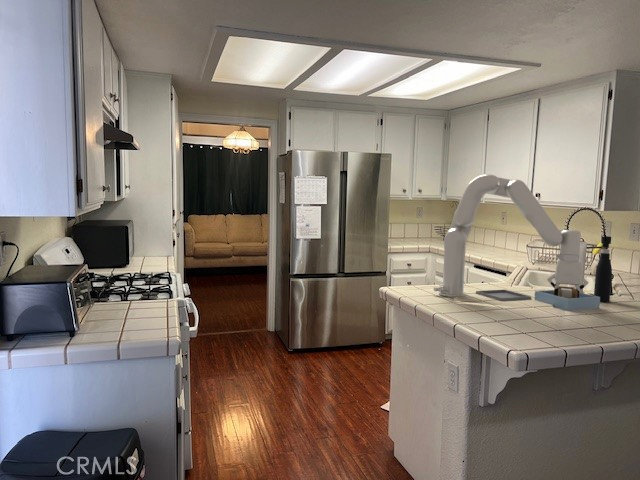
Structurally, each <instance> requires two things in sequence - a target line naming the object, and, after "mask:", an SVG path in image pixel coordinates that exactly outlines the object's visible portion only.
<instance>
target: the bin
mask: <svg viewBox="0 0 640 480" xmlns="http://www.w3.org/2000/svg"><path fill="white" fill-rule="evenodd" d="M534 301H538V302H541V303H545V304H549V305H552V308H555V309H560V310H563V311H567V312H569V311H570V312H571V311H584V310H585V311H587V310H594V309H595V310H596V309H600V305H601V302H600V297H598V296H594V294H593V295H592V294H588V293H584V292H581V291H579V298H571V299H568V298H564V297H559V296H555V295H554V289H546V290H545V289H544V290H543V289H542V290H535V291H534Z"/></svg>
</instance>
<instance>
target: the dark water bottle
mask: <svg viewBox="0 0 640 480" xmlns="http://www.w3.org/2000/svg"><path fill="white" fill-rule="evenodd" d="M603 236H605V235H603ZM603 236H601V240H600V243H601V244H602V246H601V247H602V249H601V250H600V256H599V260H598V261H597V265H596V268H595V277H594V289H593V290H594V291H593V296H598V297H600V303H610V301H611V300H610V299H611V298H610V297H611V288H612V275H613V274H612V273H613V268H612V263H611V260H610V257H611V254H610V251H611V250H610V249H609V248H610V244H612V236H608V235H607V236H605V237H606V242H605V237H603Z"/></svg>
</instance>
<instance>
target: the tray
mask: <svg viewBox="0 0 640 480" xmlns="http://www.w3.org/2000/svg"><path fill="white" fill-rule="evenodd" d="M475 295H480V296H483V297H486V298H490V299H493V300H497V301H501V302H507V301H523V300H525V301H526V300H532V296H530V295H526V294H524V293H520V292H516V291H512V290H507V289H491V290H490V289H489V290H476V291H475Z"/></svg>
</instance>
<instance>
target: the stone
mask: <svg viewBox="0 0 640 480" xmlns="http://www.w3.org/2000/svg"><path fill="white" fill-rule="evenodd" d="M560 297H570V298H572V290H571V289H565V288H561V296H560Z"/></svg>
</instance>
